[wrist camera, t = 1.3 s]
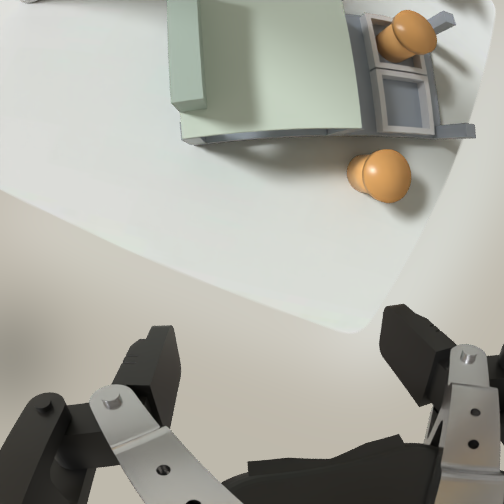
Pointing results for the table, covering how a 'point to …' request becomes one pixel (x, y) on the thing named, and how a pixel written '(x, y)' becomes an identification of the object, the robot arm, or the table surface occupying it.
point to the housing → (381, 92)
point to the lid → (260, 66)
